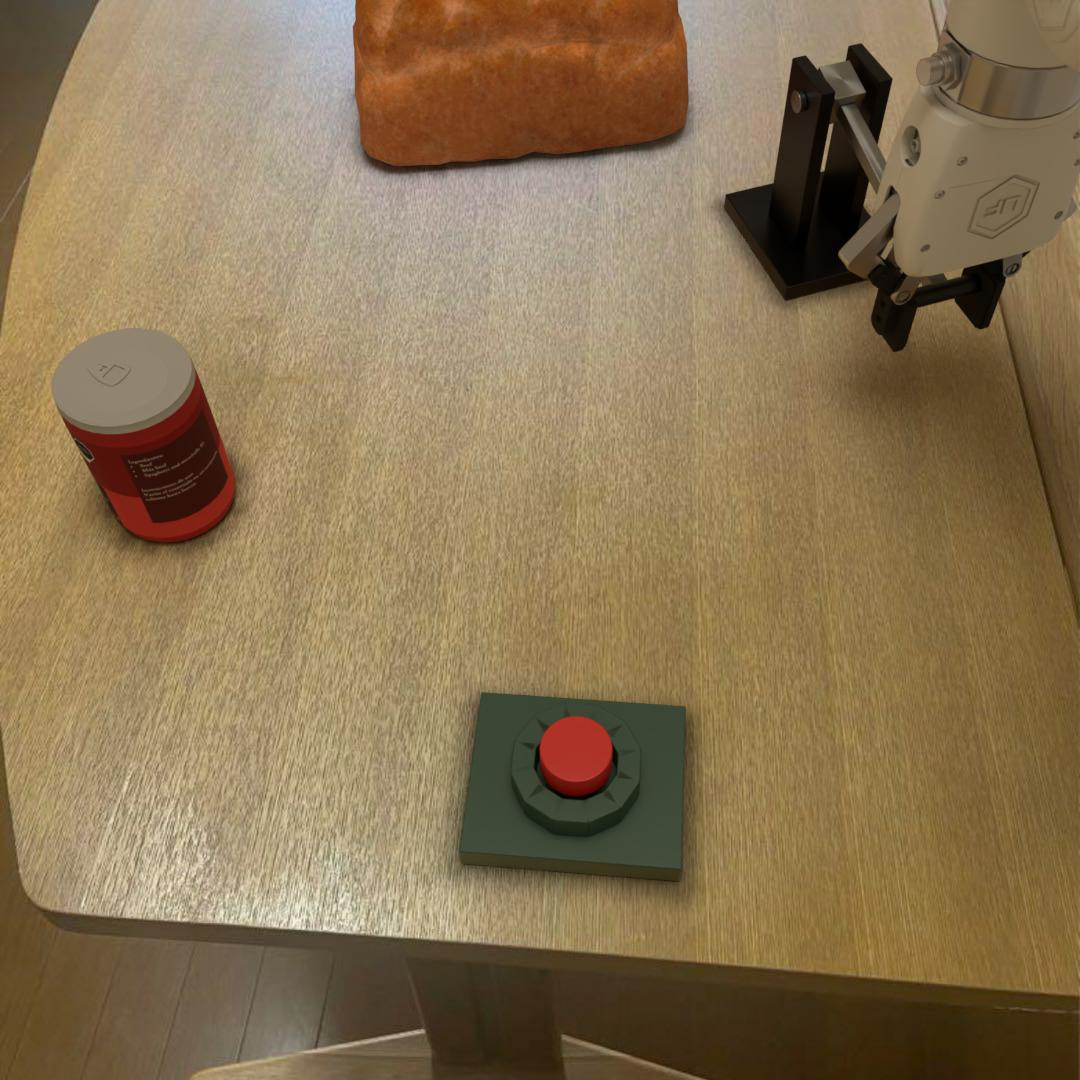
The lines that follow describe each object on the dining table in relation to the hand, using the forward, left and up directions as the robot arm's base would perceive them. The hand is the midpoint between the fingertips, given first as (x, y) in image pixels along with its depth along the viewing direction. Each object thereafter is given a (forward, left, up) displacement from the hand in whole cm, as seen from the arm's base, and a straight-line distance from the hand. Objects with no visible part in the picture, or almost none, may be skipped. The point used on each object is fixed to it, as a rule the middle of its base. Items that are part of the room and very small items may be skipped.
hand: (929, 323), depth 75 cm
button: (+1, +37, -2) cm, 37 cm away
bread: (+40, -9, -6) cm, 41 cm away
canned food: (+33, +36, -6) cm, 49 cm away
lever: (+7, -5, +4) cm, 9 cm away
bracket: (+13, -9, -5) cm, 16 cm away
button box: (+1, +37, -5) cm, 37 cm away
